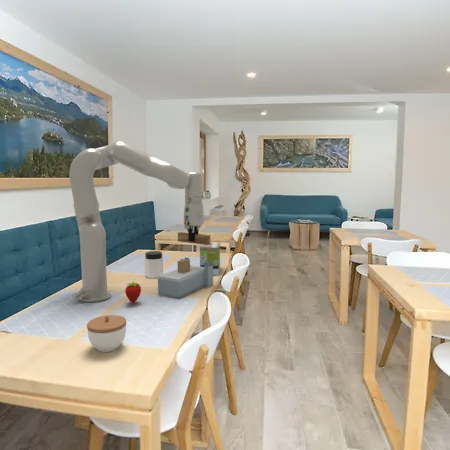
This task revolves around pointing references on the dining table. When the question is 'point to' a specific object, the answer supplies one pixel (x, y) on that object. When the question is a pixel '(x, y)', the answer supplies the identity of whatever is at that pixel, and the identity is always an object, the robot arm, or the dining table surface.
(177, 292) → the toolbox
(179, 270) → the lid
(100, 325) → the lidded jar
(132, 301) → the strawberry
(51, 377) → the dining table surface
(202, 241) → the brown block
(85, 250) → the robot arm
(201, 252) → the tea box
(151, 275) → the jar
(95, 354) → the dining table surface
